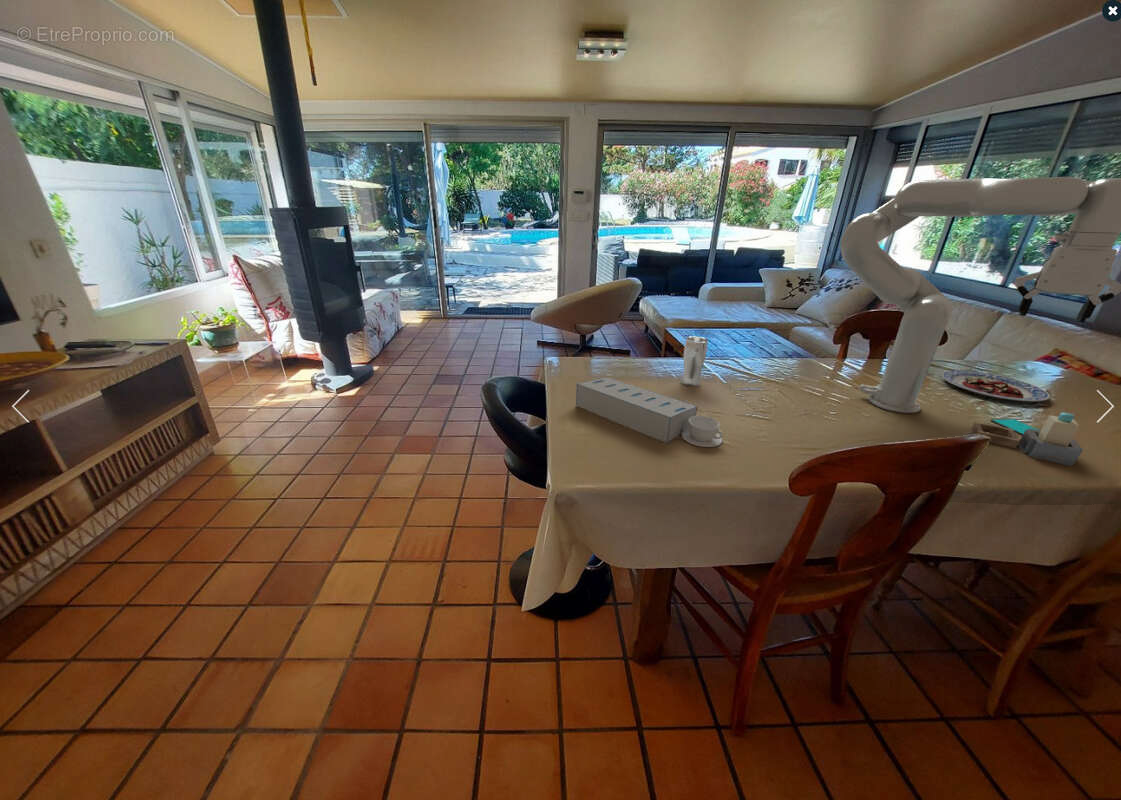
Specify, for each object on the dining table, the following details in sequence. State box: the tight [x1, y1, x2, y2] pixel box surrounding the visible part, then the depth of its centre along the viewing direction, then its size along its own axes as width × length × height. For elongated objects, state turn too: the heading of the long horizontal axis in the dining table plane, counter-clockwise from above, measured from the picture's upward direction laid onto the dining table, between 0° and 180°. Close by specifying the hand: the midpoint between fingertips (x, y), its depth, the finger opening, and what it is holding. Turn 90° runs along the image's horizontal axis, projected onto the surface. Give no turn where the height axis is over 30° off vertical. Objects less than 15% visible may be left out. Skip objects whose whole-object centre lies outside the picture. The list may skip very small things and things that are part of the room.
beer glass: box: [680, 336, 709, 387], centre depth 137 cm, size 7×7×15 cm
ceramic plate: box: [941, 369, 1051, 402], centre depth 138 cm, size 26×26×3 cm
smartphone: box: [990, 418, 1041, 437], centre depth 111 cm, size 7×1×15 cm
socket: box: [1018, 428, 1084, 467], centre depth 101 cm, size 8×8×4 cm
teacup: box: [680, 415, 724, 448], centre depth 106 cm, size 10×10×5 cm
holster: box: [971, 420, 1020, 449], centre depth 108 cm, size 8×8×2 cm
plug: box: [1038, 411, 1080, 446], centre depth 100 cm, size 4×4×11 cm
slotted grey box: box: [575, 376, 698, 444], centre depth 117 cm, size 30×14×8 cm, turn 47°
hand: (1050, 317), depth 100 cm, fingers open, 9 cm apart
